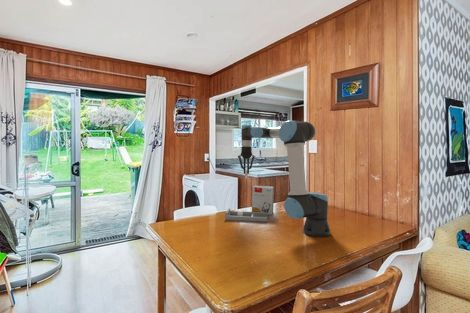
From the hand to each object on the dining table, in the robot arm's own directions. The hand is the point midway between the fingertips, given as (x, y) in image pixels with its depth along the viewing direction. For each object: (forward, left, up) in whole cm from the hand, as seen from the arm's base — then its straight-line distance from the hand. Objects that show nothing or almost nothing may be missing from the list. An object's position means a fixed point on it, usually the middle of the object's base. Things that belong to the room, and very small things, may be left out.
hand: (246, 178), depth 188 cm
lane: (-2, +12, -26) cm, 29 cm away
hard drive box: (-12, -5, -27) cm, 30 cm away
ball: (+3, +11, -24) cm, 26 cm away
